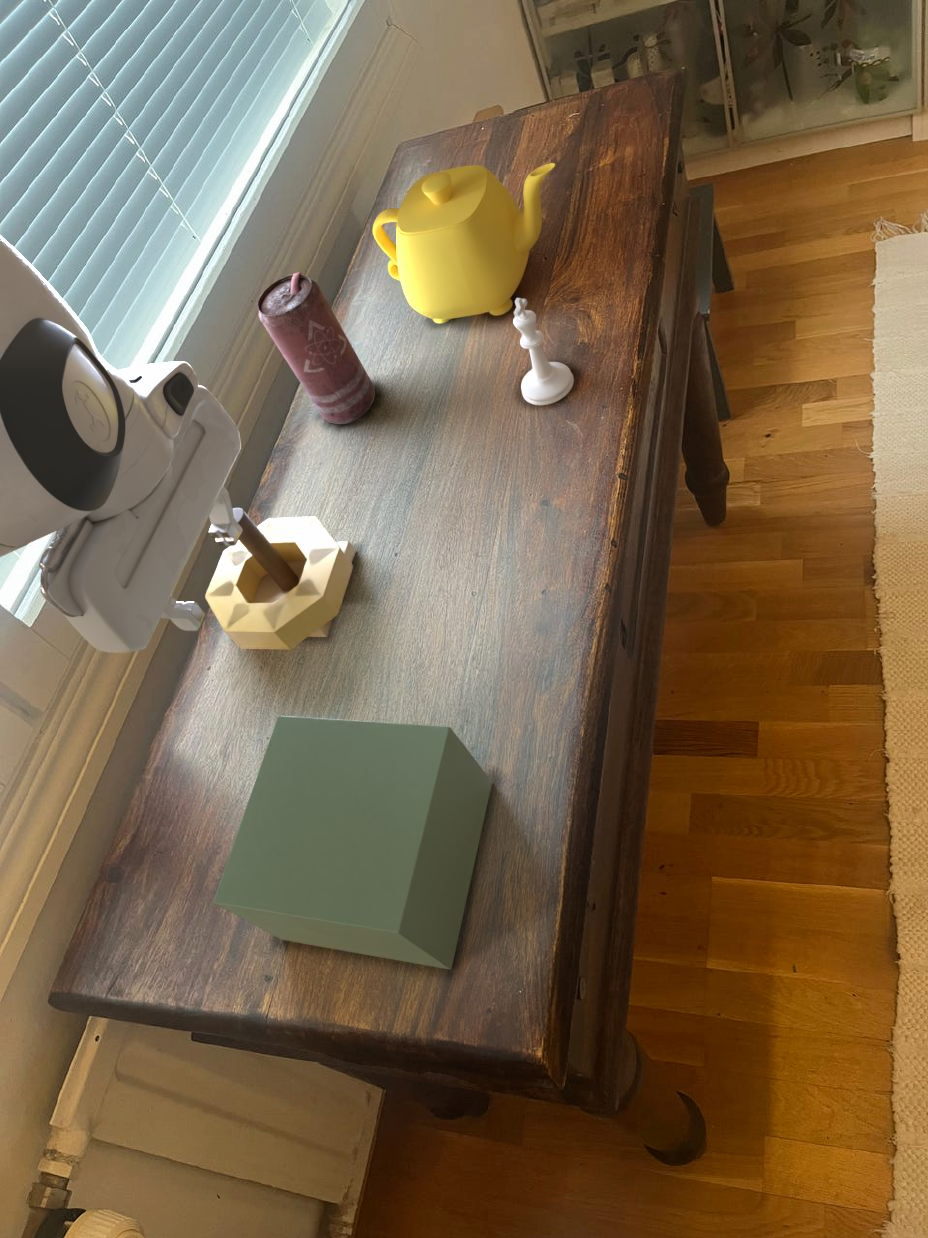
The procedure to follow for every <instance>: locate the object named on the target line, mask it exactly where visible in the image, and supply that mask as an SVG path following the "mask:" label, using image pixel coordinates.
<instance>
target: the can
mask: <svg viewBox="0 0 928 1238" xmlns="http://www.w3.org/2000/svg"><path fill="white" fill-rule="evenodd" d="M257 310H258V319H259V321H260V322H261V323H262V325H263V326H264V328H265V330H266V332H267V333H268V334H269V336H270V338H271V339H272V341H273V342H274V344H275V346H276V347H277V349H278V350H279V352H280V353H281V355H282V357H283V359H285V361H286V363H287V364H288V366H289V367H290V369H291V370H292V372H293V374H294V375H295V377H296V379H297V380H298V382H299V383H300V385H301V386H302V388H303V389H304V391H305V392H306V394H307V395H308V397H309V399H310V401H311V402H312V403H313V405H314V406H315V408H316V410H317V411H318V413H319V415H320V416H321V417H322V420H325V421H326V422H328V423H331V424H334V425H347V424H350V423H353V422H355V421H357V420H359V419H361V418H362V417H363V416H365V414H366V413H367V412H369V410H370V409H371V407H372V406H373V404H374V401H375V395H376V389H375V385H374V383H373V382H372V380H371V378H370V376H369V374H368V373H367V371H366V369H365V367H364V365H363V364H362V361H361V360H360V358H359V356H358V355H357V353H356V351H355V349H354V347H353V345H352V344H351V342H350V340H349V338H348V337H347V335H346V333H345V332H344V329H343V328H342V326H341V324H340V322H339V320H338V319H337V317H336V315H335V313H334V312H333V309H332V308H331V305H330V304H329V302H328V301H327V299H326V297H325V295H324V293H323V291H322V289H321V288H320V286H319V285H318V283H317V282H316V281H314V280H312V279H311V278H310V277H309V276H308V275H305V274H303V273H302V272H300V271H299V272H294V273H293V274H288V275H286V276H283V277H281V278H278V279H277V280H275V281H274V282H272V283H270V285H268V286H267V287H266V288H265V289H264V290H263V292H261V294H260V295H259V298H258V300H257Z"/></svg>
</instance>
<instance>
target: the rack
mask: <svg viewBox="0 0 928 1238" xmlns="http://www.w3.org/2000/svg"><path fill="white" fill-rule="evenodd" d="M232 510H233V515H234V516H233V518H234V519H235V520H236V521H237V523H238V524H239V525H240V526H241V528H242V530H243V531H242V533H241V535H240V537H239V541H240V542H241V543H242V544H243V545H244V547H245V548H246V549H247V550H248V551H249V552H250V554H251V555H252V556H253V557H254V558H255V559H256V560H257V562H258V563H259V564H260V565H261V566H262V567H263V569H264V570H265V571H266V572H267V573H268V574H267V575H266V576H264V577H263V578H262V579H261V581H260V584H259V586H258V589H257V591H256V594H255V597H254V599H253V602H252V604H259V603H274V602H276V601H277V600H278V599H280V598H281V597H282V596H284V595H285V594H287V593H288V592H289V591H291V590H292V589H293V588H295V587H296V586H297V585H298V584H299V581H300V578H301V576H302V573H303V570H304V567H305V564H306V562H307V561H287V562H285V560H284V559H283V558H282V557H281V556H280V554H279V553H278V552H277V551H276V549H275V548H274V547H273V546H272V545H271V543H270V542H269V541H268V540H267V539H266V537H265V536H264V535H263V534H262V532H261V531H260V530H259V529H258V528H257V526H258V525H256V523H254V522H253V520H252V519H251V518H250V517H249V515H248V514H247V513H246V512H245V510H244V509H243V508H241V507H234V508H232ZM335 542H336V543H337V544H338V546H339V547H340V548H341V550H342V551H343V552H344V554H345V555H346V557H347V558H348V559H349V561H350V562H351V563H353V560H354V558H355V554H356V549H355V548H354V546H353V545H352V543H351V542H350V541H349V540H339V541H338V540H335ZM333 620H334V618H332V619H331V620H330V621H328V622H327V623H326V624H324V625H323V626H322V627H320V628H319V629H318V630H316V631H315V632H313V633H312V634H311V635H309V636H308V637H307V638H311V637H312V638H313V637H314V638H315V637H316V638H328V635H329V631H330V629H331V625H332V622H333Z"/></svg>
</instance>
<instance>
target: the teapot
mask: <svg viewBox="0 0 928 1238" xmlns="http://www.w3.org/2000/svg"><path fill="white" fill-rule="evenodd" d="M555 166H556V163H555V162H550V163H546V164H543V165H541V166H539V167H537V168H535V169H534V170H532V171H531V172H530V173H529V174H528V175H527V177H526V178H525V180H524V183H523V191H522V192H523V193H522V195H523V210H521V208H520V206H519V205H518V203H517V201H516V200H515V198H514V197H513V196H512V194H511V193H510V191H509V190H508V189H507V188H506V187H505V185H504V184H503V183H502V182H501V181H500V180H499V179H498V178H497V176H495V175H494V174H493V172H491V171H490V170H489V169H488V168H487V167H486V166H484V165H482V164H481V165H480V164H470V165H469V164H468V165H462V166H457V167H453V168H447V169H444V170H440V171H439V170H438V171H435V172H431V173H429V174H427V175H424V176H422V177H420V178H418V180H416V181H415V182H414V183H413V184H412V185H411V187H410V188H409V189H408V191H407V192H406V194H405V195H404V197H403V200H402V201H401V204H400V207H389V208H386V209H384V210H382V211H381V212H380V213H379V214H378V215H377V216H376V218H375V219H374V220H373V224H372V235H373V238H374V240H375V241H376V243H377V245H378V246H379V247H380V248H381V250H382V251H383V252H384V253H385V254H386V255H387V256H388V257H389V258H390V260H389V261H388V262H387V270H388V273H389V276H390V277H391V278H392V279H394V280H397V281H400V285H401V288H402V291H403V294H404V297H405V298H406V299H405V300H406V301H407V302H408V304H409V306H410V307H411V309H413V310H414V311H415V312H418V314H421V315H422V316H425V317H427V318H428V319H431V320H432V321H433V322H434V323H436V324H445V323H447V322H449V321H451V320H453V319H457V318H465V317H471V316H477V315H482V314H485V313H489V314H490V315H492V316H501V315H504V314H506V313H507V312H509V311H510V310H511V309H512V307H513V304H514V303H513V300H512V299H511V298H512V296H513V295H514V294H515V292H516V290H517V289H518V287H519V285H520V283H521V282H522V280H523V279H522V278H523V276H524V274H525V271H526V269H527V268H526V267H527V264H528V260H529V255H530V251H531V249H532V248H533V247H534V246H535V245H536V242H537V241H538V239H539V238H540V234H541V231H542V224H543V211H542V209H543V208H542V203H541V201H542V200H541V188H542V184H543V182H544V180H545V178H546V177H547V176H548V175H549V174H550V172H552V171H553V170H554V168H555ZM387 223H396V229H395V231H396V233H395V236H396V237H395V238H396V241H395V242H396V243H395V242H394V240H392V239H391V237H389V235H388V233H387V232H386V230H385V229H384V227H383V225H384V224H387Z"/></svg>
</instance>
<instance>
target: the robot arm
mask: <svg viewBox="0 0 928 1238" xmlns="http://www.w3.org/2000/svg"><path fill="white" fill-rule="evenodd" d="M199 384H200V380H199V377H198V375H197V373H196V371H195V370H194V368H193V367H192V366H191V365H190V364H189V362H187V361H168V362H167V361H165V362H156V363H149V364H142V365H136V366H131V367H127V368H122V369H119V370H118V369H116V368H115V367H113V366H112V365H111V364H109V363H108V362H107V361H106V360H105V359H104V358H103V357H102V355H101V354H100V353H99V352H98V349H97V348H96V345H95V343H94V341H93V338H92V336H91V334H90V332H89V330H88V328H87V327H86V326H85V324H84V323H83V322H82V321H81V320H80V318H79V316H77V314H76V313H75V312H74V311H73V309H72V308H71V306H70V305H68V303H67V302H66V301H65V300H64V299H63V298H62V296H61V295H60V294H59V293H58V292H57V290H55V288H54V287H53V286H52V285H51V284H50V283H49V282H48V281H47V280H46V279H45V278H44V276H42V274H41V273H40V272H39V271H38V270H37V269H36V268H35V267H34V265H32V263H31V262H29V261H28V260H27V258H25V257H24V256H23V255H22V254H21V253H20V252H19V251H18V250H17V249H16V248H15V247H14V246H13V245H12V244H11V243H9V241H7V239H5V238H4V237H3V236H2V235H0V558H2V557H4V556H6V555H9V554H11V553H12V552H14V551H15V552H16V551H17V550H19V549H21V548H24V547H26V546H28V545H29V544H30V543H33V542H35V541H37V540H39V539H42V538H44V537H46V536H48V535H50V534H53V533H55V534H54V537H53V539H52V541H51V543H50V544H49V546H47V547H46V548H45V550H44V551H43V553H42V555H41V557H40V559H39V563H38V567H39V568H40V570H41V571H40V579H39V580H40V581H39V582H40V594H41V596H42V597H43V599H44V600H45V601H46V602H47V603H48V604H50V605H51V606H52V607H53V608H54V609H56V611H58V612H59V613H60V614H63V616H64V617H65V618H66V620H67V621H68V622H69V623H70V624H71V626H72V627H73V628H74V629H75V630H76V632H78V633H79V634H80V635H81V636H82V638H83V639H85V640H86V641H87V643H88V644H90V645H91V646H92V647H93V648H94V649H96V650H97V651H100V652H104V653H110V654H129V653H135V652H136V653H137V652H140V651H144V650H145V649H146V648H147V647H148V646H149V643H150V641H151V639H152V637H153V635H154V633H155V631H156V629H157V626H158V624H159V622H160V620H161V619H163V620H164V619H165V620H170V622H172V623H173V624H174V625H175V626H176V627H177V628H178V629H180V630H181V631H184V632H185V631H186V632H198V631H199V630H200V628H201V625H202V622H203V620H204V618H205V615H206V612H205V610H203V609H201V607H200V605H199V604H198V603H197V602H196V601H190V600H189V601H185V602H184V601H177V599H176V598H175V597H174V596H173V593H174V591H175V589H176V587H177V585H178V582H179V580H180V578H181V576H182V574H183V572H184V570H185V568H186V565H187V563H188V561H189V559H190V558H191V555H192V553H193V551H194V549H195V546H196V544H197V542H198V540H199V538H200V535H201V534H202V531H203V529H204V527H205V526H206V523H207V521H208V519H209V522H210V524H211V525H210V527H209V530H208V534H209V535H210V537H212V538H213V539H214V540H215V542H216V543H217V544H218V545H219V546H222V547H229V546H235V545H236V544H237V542H238V540H239V537H240V535H241V533H242V531H243V530H242V528H241V526H240V525H239V524H238V523H237V521H236V520H235V519H234V518H233V516H234V515H233V510H232V509H233V506H232V501H231V497H230V493H229V491H228V490H227V488H226V487H225V483H226V481H227V480H228V477H229V475H230V473H231V470H233V469H232V468H233V467H234V464H235V462H236V460H237V458H238V456H239V454H240V452H241V449H242V440H241V436H240V435H241V433H240V430H239V428H238V426H237V424H236V423H235V422H234V420H233V418H232V417H231V415H230V414H229V412H227V410H226V409H225V408H224V406H223V405H222V404H221V402H220V401H219V400H218V398H217V397H216V396H215V395H214V394H213V393H212V392H211V391H210V390H209V389H208V388H206V387H205V386H203V385H199Z"/></svg>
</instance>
